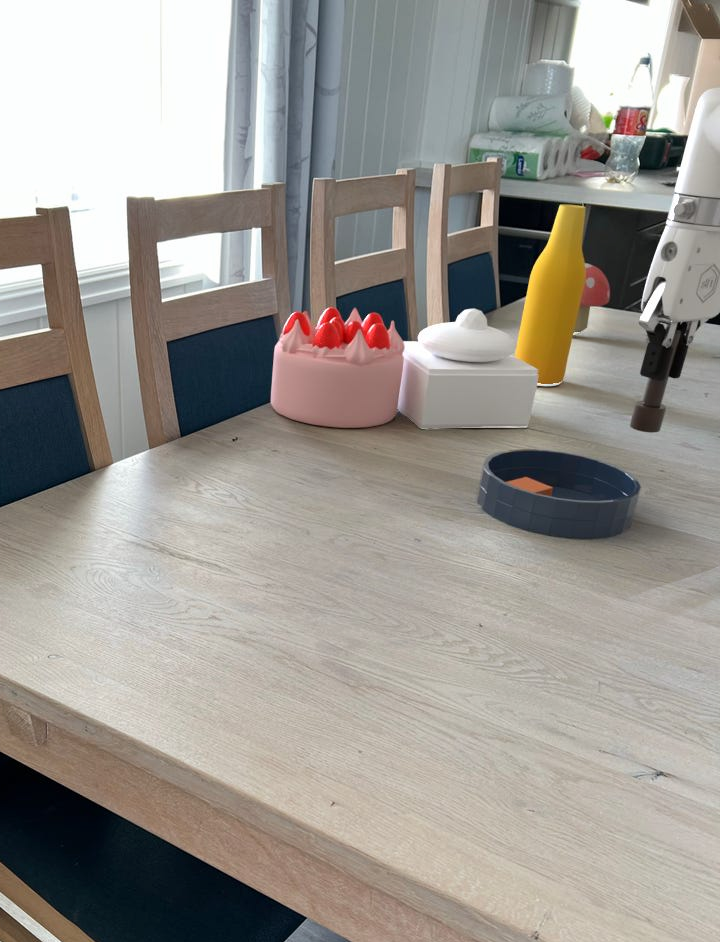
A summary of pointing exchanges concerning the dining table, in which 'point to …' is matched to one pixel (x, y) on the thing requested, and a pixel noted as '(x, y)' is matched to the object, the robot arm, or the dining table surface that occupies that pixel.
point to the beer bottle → (554, 298)
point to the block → (532, 486)
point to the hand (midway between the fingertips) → (659, 375)
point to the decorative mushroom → (592, 295)
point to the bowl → (559, 494)
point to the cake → (337, 370)
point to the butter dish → (465, 377)
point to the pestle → (653, 400)
